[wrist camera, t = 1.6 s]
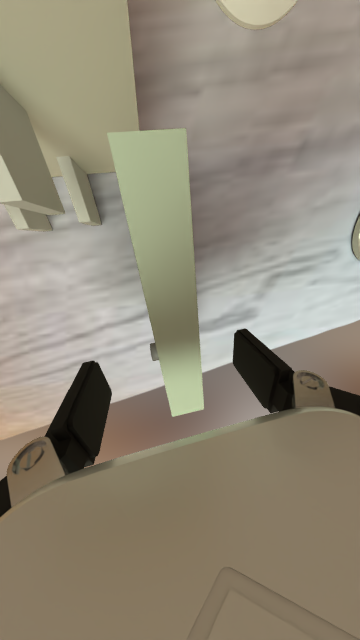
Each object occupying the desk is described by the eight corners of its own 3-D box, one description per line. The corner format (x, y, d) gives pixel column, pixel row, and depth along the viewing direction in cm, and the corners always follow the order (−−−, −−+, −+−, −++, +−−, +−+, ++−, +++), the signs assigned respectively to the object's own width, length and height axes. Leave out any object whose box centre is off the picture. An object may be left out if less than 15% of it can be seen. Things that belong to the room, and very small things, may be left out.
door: (161, 202, 18) (185, 128, 6) (179, 331, 27) (203, 409, 15) (125, 206, 18) (72, 134, 6) (154, 336, 26) (159, 419, 14)
